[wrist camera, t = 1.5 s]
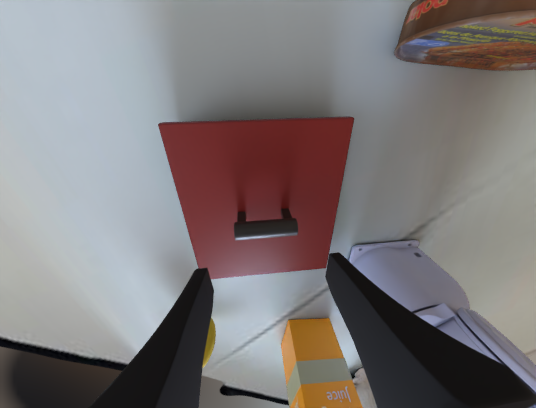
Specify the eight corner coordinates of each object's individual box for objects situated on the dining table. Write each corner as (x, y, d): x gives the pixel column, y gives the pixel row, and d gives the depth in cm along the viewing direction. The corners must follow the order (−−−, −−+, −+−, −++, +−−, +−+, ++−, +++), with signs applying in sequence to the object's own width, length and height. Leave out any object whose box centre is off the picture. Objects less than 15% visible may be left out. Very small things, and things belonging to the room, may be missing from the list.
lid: (161, 122, 13) (134, 130, 10) (349, 116, 14) (380, 122, 11) (203, 274, 21) (195, 307, 18) (323, 262, 22) (337, 292, 19)
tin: (369, 58, 15) (480, 24, 8) (383, 4, 14) (535, -95, 7) (524, 74, 17) (727, 58, 10) (551, 28, 16) (814, -31, 8)
